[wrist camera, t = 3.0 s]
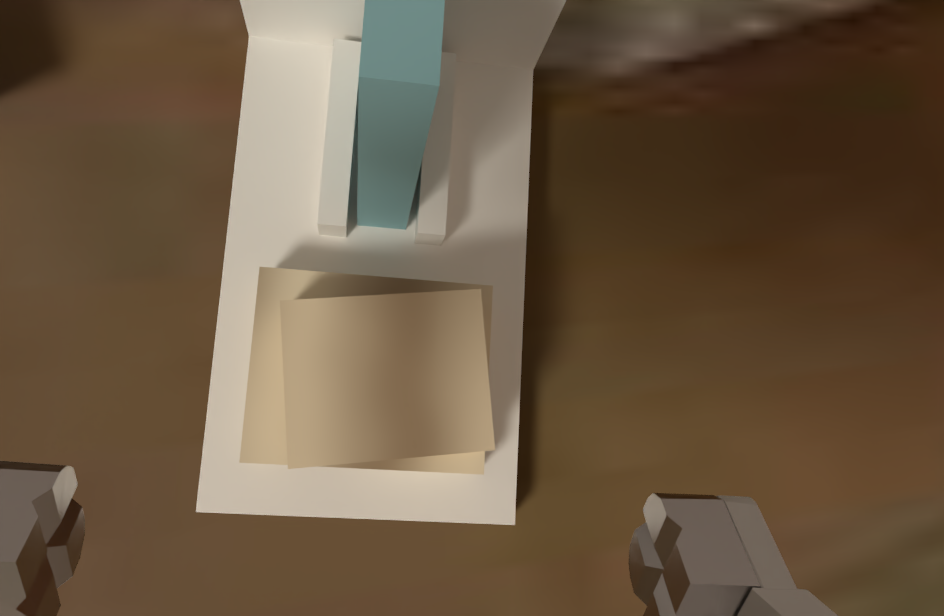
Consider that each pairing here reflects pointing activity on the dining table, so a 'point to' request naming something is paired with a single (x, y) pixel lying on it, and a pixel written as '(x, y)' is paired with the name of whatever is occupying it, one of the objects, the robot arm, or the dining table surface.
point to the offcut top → (385, 377)
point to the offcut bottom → (266, 362)
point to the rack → (376, 234)
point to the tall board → (395, 104)
